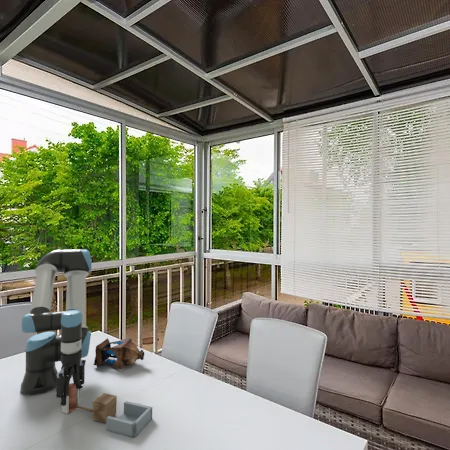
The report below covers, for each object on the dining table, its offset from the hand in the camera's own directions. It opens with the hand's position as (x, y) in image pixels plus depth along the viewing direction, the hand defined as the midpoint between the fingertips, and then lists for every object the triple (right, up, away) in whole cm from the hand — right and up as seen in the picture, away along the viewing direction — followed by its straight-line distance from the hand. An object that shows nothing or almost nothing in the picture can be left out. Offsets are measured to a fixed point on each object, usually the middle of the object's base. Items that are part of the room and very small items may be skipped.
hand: (70, 408), depth 126 cm
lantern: (+7, 0, +39) cm, 40 cm away
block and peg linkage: (+8, 0, -3) cm, 9 cm away
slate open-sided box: (+26, -1, -9) cm, 28 cm away
